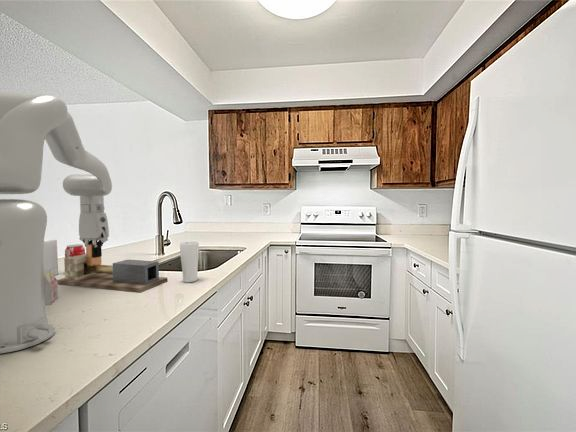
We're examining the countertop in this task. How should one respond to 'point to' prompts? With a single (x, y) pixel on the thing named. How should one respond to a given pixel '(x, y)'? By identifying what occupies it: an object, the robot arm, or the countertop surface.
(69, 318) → the countertop surface
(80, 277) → the ash socket block
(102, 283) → the walnut base board
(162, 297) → the countertop surface
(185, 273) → the drinking glass
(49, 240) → the supplement box
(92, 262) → the brass tube
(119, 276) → the galvanized steel sleeve
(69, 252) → the soda can
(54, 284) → the white angular box
